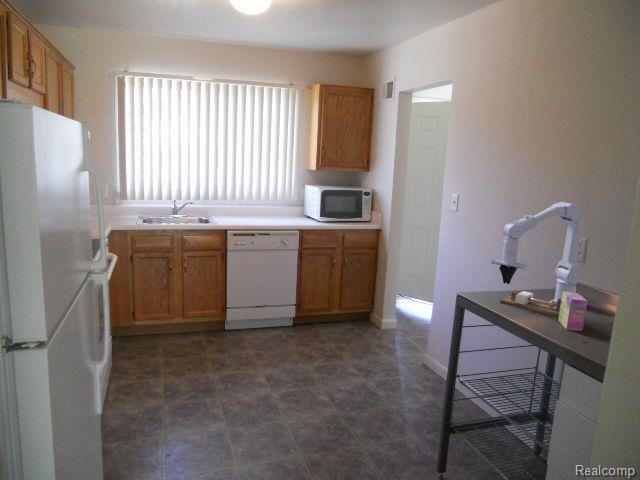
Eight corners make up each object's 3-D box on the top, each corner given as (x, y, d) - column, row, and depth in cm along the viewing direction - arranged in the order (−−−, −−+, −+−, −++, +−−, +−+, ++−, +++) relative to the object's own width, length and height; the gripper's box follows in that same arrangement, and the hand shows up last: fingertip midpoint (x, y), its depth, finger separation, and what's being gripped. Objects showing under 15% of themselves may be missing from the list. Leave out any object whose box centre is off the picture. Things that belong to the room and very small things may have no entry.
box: (583, 331, 172) (587, 300, 170) (566, 329, 173) (570, 298, 171) (574, 322, 182) (578, 292, 180) (558, 320, 183) (562, 291, 181)
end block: (559, 309, 195) (560, 297, 194) (566, 310, 193) (568, 299, 192) (556, 311, 192) (557, 299, 191) (564, 312, 190) (565, 300, 189)
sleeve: (522, 298, 207) (523, 291, 206) (532, 300, 204) (533, 293, 204) (515, 302, 200) (516, 294, 200) (524, 304, 197) (525, 296, 197)
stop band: (550, 306, 196) (551, 299, 196) (553, 306, 195) (554, 300, 195) (548, 307, 194) (549, 300, 194) (551, 308, 193) (552, 301, 193)
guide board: (509, 297, 212) (510, 288, 211) (573, 312, 195) (574, 301, 194) (499, 302, 204) (500, 292, 203) (565, 318, 186) (566, 307, 186)
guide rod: (515, 296, 205) (515, 294, 205) (562, 307, 193) (562, 304, 192) (514, 297, 204) (514, 294, 204) (561, 307, 192) (561, 305, 191)
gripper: (489, 250, 203) (486, 281, 205) (524, 256, 193) (520, 288, 196) (496, 248, 208) (492, 278, 210) (530, 254, 198) (526, 285, 201)
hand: (506, 283), depth 203 cm, fingers closed
